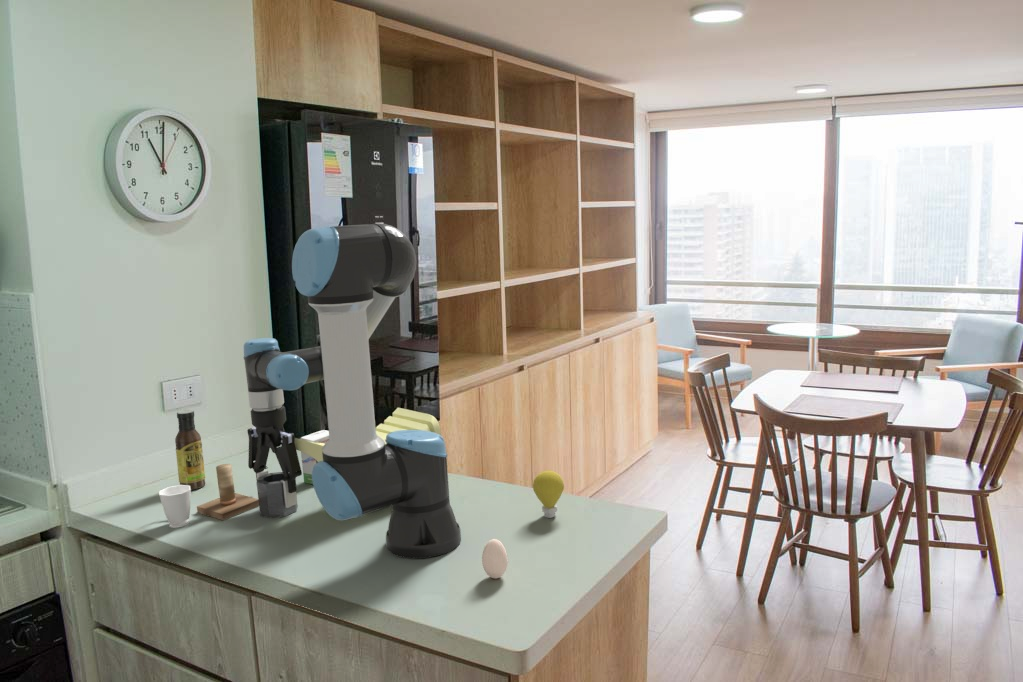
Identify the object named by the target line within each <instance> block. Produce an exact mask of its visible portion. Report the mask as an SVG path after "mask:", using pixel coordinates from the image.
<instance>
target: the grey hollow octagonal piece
mask: <svg viewBox="0 0 1023 682" xmlns="http://www.w3.org/2000/svg"><path fill="white" fill-rule="evenodd" d="M284 478H285V477H284V474H283V472H282V471H278V472H275V471H274V472H270V473H269V472H268V474H266V475H264V476H261V477H259V478H258V480H256V488H257V489H256V490H257V499H258V500H259V506H258V507H259V508H258V509H259V515H260V516H261V517H263V518H264V517H265V518H268V519H275V518H282V517H287V516H289V515H292V514H294V513H296V512H297V510H298V503H297V504H296V505H293V506H291V507H288V508H287V507H286V506H285V497H284V488H283V479H284ZM296 497H297V498H298V496H297V494H296Z"/></svg>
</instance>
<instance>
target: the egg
mask: <svg viewBox="0 0 1023 682" xmlns="http://www.w3.org/2000/svg"><path fill="white" fill-rule="evenodd" d="M481 563H482V565H481V566H482V568H483V571H484V572H485V574H486V575H487V576H488V577H490V578H491V579H499V578H501V577H503V576H504V574H505V572H506V571H507V568H508V563H509V561H508V554H507V550H506V548H505V546H504V545H503V543H502V542H501V541H500V540H499V539H496V538H492V539H490V540H488V541H487V542H486V544H485V545H484V547H483V550H482V555H481Z"/></svg>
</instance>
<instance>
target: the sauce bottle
mask: <svg viewBox="0 0 1023 682" xmlns="http://www.w3.org/2000/svg"><path fill="white" fill-rule="evenodd" d="M176 418H177V420H178V421H177V422H178V431H177V434H176V436H175V438H174V441H175V453H176V454H175V456H176V463H177V464H176V465H177V474H178V475H177V476H178V482H179V485H189V486H190V488H191V491H192V490H193V491H194V490H198V489H200V488H203V487H204V486H206V481H205V480H206V474H205V473H206V471H205V463H204V454H203V453H204V452H203V442H202V437H201V435H200V433H199V432H198V430H196V425H195V411H194V410H193V409H182V410H179V411H177V412H176Z"/></svg>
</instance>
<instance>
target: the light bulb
mask: <svg viewBox="0 0 1023 682" xmlns="http://www.w3.org/2000/svg"><path fill="white" fill-rule="evenodd" d="M532 489H533V492H534V494H535V495H536V498H537V499H538V500H539V501H540V503H541V504H542V506H541V509H542V511H541V512H542V513H543V514H544V515H543V516H544V517H545V518H548V519H549V518H550V519H551V518H554V517H556V512H558V505H557V503H558V501H559V500H560V498H561V496H562V494H563V492H564V489H565V483H564V480H563V478H562V476H561V475H560V474H559V473H557V472H555V471H554V470H544V471H541V472H540V473H538V474H537V475H536V476H535V478H534V479H533V484H532Z"/></svg>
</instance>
